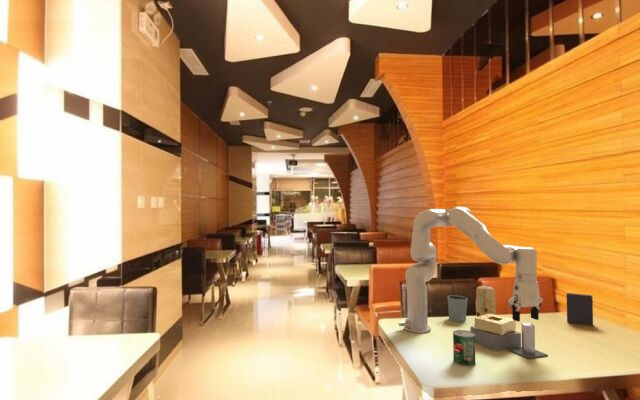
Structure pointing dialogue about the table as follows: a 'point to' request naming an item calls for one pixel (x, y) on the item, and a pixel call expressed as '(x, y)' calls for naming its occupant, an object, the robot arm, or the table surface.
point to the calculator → (580, 309)
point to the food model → (485, 301)
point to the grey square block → (497, 339)
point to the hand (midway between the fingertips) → (525, 319)
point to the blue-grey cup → (457, 308)
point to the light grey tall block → (528, 338)
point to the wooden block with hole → (495, 324)
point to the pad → (527, 355)
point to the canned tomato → (464, 348)
